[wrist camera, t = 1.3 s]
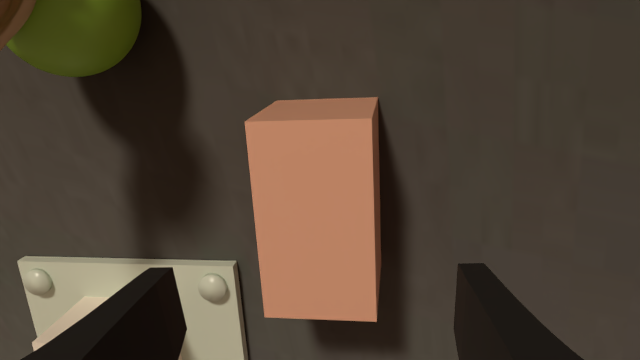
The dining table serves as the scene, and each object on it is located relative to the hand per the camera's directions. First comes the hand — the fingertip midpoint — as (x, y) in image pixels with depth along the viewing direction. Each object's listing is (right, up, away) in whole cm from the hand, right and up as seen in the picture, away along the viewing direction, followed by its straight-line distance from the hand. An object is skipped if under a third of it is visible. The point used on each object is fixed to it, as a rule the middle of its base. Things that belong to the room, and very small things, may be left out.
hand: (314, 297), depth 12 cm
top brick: (+1, +3, +11) cm, 11 cm away
